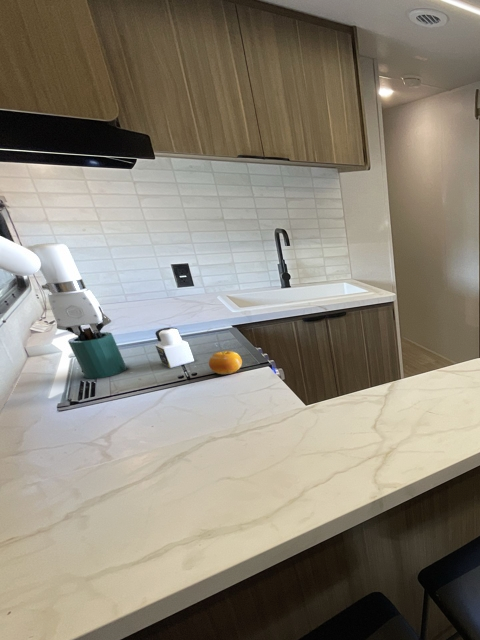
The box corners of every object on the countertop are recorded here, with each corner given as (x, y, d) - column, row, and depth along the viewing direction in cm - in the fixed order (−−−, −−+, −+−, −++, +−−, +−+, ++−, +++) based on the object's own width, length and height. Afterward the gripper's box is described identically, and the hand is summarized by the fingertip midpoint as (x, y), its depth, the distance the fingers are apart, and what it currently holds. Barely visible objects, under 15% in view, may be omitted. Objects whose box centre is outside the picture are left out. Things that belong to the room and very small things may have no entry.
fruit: (251, 358, 130) (229, 340, 126) (232, 376, 124) (209, 359, 120) (240, 365, 135) (218, 348, 131) (222, 383, 129) (199, 366, 125)
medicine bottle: (162, 363, 136) (148, 330, 131) (186, 357, 142) (174, 324, 137) (170, 368, 132) (156, 333, 128) (194, 361, 138) (182, 328, 133)
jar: (76, 378, 126) (58, 342, 121) (106, 366, 135) (90, 332, 130) (106, 378, 126) (90, 342, 121) (134, 366, 135) (120, 332, 130)
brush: (92, 372, 128) (72, 330, 122) (105, 366, 132) (86, 325, 126) (105, 372, 128) (86, 330, 122) (118, 366, 132) (99, 325, 126)
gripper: (24, 292, 113) (55, 353, 120) (98, 286, 119) (123, 344, 127) (36, 287, 119) (65, 346, 126) (106, 281, 126) (129, 337, 133)
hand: (94, 344), depth 127 cm, fingers closed
